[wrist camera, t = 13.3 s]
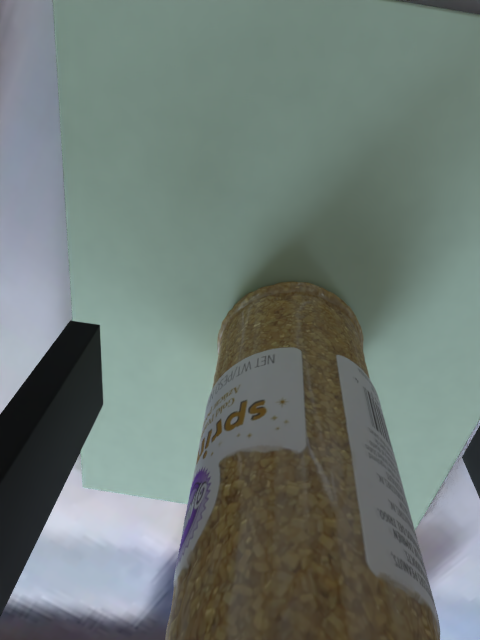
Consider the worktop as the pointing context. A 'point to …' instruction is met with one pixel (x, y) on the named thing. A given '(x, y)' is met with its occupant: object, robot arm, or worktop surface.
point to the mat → (270, 209)
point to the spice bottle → (297, 488)
